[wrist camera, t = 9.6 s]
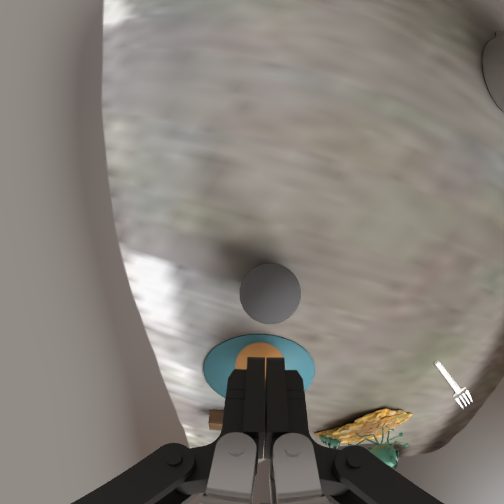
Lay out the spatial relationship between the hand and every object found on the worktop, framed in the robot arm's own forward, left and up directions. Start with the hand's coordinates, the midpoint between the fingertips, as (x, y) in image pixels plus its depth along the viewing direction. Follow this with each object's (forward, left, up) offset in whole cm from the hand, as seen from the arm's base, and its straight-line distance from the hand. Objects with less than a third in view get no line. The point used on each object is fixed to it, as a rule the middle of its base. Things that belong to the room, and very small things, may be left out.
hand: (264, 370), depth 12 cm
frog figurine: (+28, +27, -17) cm, 43 cm away
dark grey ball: (+5, +2, -14) cm, 15 cm away
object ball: (+15, +4, -14) cm, 21 cm away
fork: (+17, +39, -18) cm, 46 cm away
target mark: (+19, +5, -17) cm, 26 cm away
